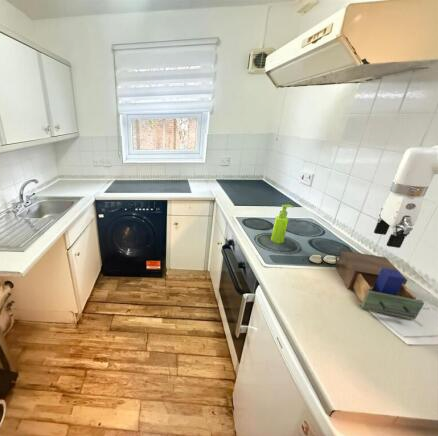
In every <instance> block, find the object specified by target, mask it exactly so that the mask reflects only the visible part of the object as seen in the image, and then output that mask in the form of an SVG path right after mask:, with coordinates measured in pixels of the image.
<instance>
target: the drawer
mask: <svg viewBox="0 0 438 436" xmlns="http://www.w3.org/2000/svg"><path fill="white" fill-rule="evenodd" d="M377 278H378V277H377V276H372V275H366V274H361V273H357V275H356V277H355V279H354V282H353V284H352V287H353V289H354V290H355V291H354V292H355V294H356V295H357V297H358V299H359V300H360V302H361V306H360V307H361V308H362V309H363V310H367V311H373V312H377V313H382V314H385V315H391V316H396V317H399V318H404V319H409V320H413V321H415V320H416V319H417V317H418V316H419V313H420V312H421V310H422V309H423V306H424V305H425V302H424V301H423V300H421V299H417V297H416V296H415V294H414V293H412V291H411V290H410V289H409V288H408V287H407V286H406V284H405V285H404V284H402V286H401V288H400V290H399V292H398V293H397V295H391V294H385V293H380V292H375V291H372V289H373V287H374V285H375V282H376V280H377Z"/></svg>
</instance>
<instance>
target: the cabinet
mask: <svg viewBox="0 0 438 436" xmlns="http://www.w3.org/2000/svg"><path fill="white" fill-rule="evenodd" d="M382 268H386V269H392V270H397V271H398V272H399V273H400V274H401V275H402V276H403V277H404V278H405V280H404V282H403V284H404V285H405V286H406V284H407V282H408V278H406V277H405V276H404V275H403V274H402V273H401V271H399V269H398V268H396V267H395V265H394V264H393V263H392V262H391V261H390V260H389V259H388V258H387V257H385V256H380V255H374V254H366V253H361V252H356V251H355V252H354V251H347V250H341V251H340V253H339V256H338V259H337V262H336V265H335V267H334V269H335V270H336V272H337V273H338V275H339V277H340V279H341V280H342V282H343V284H344V286H345V287H346V289H347V291H348V290H349V291H353V292H355V290H354V289H353V287H352V284H353V282H354V279H355V277H356V275H357V273H361V274H366V275H372V276H377V277H378V276H379V274H380V271H381V269H382Z"/></svg>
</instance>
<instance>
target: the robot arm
mask: <svg viewBox="0 0 438 436" xmlns="http://www.w3.org/2000/svg"><path fill="white" fill-rule="evenodd" d="M435 175H438V144H437V145H433V146H432V147H428V146H413V147H408V148H407V149H406V150H405V152H404V153H403V155H402V158H401V161H400V163H399V166H398V168H397V171H396V173H395V176H394V178H393V181H392V184H391V186H390V188H389V190H388V193H389V194H388V196H387V198H386V200H385V202H384V204H383V206H382V207H381V208H380V213H379V218H378V219H377V223H376V225H375V228H374V230H373V233H374V234H377V235H383V236H385V235H387V233H388V231H389V229H390V227H391V228H392V233H391V234H390V236H389V238H388V240H387V241H386V246H387V247H390V248H397V249H400V248H401V247H402V246H403V243H404V241H405V238H407V237H408V235H409V234H410V233H411V232H412V231H413V229H414V227H415V225H416V222H417V220H418V218H419V214H420V212H421V210H422V209H421V208H422V204H423V200H424V197H425V196H426V193H427V191H428V189H429V187H430V185H431V183H432V180H433V179H434V177H435Z"/></svg>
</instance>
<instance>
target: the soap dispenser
mask: <svg viewBox="0 0 438 436" xmlns="http://www.w3.org/2000/svg"><path fill="white" fill-rule="evenodd" d="M281 207H282V209H281V210H279V214H278V215H276V216H275V219H274V224H273V228H272V233H271V238H270V241H271V242H272V243H275V244H283V243H284V241H285V236H286V233H287V229H288V224H289V220H290V219H289V217H287V216H288V211H287V209H288V208H294V206H293V205H292V204H281Z"/></svg>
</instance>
